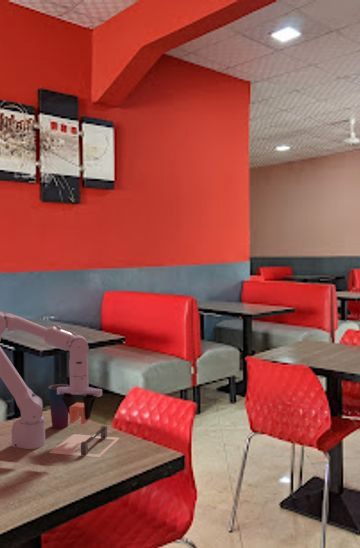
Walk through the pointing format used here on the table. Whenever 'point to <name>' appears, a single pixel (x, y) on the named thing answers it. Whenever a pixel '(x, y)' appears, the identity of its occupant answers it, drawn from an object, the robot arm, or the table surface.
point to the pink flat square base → (82, 444)
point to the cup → (58, 407)
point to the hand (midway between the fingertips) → (80, 417)
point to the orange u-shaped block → (77, 413)
